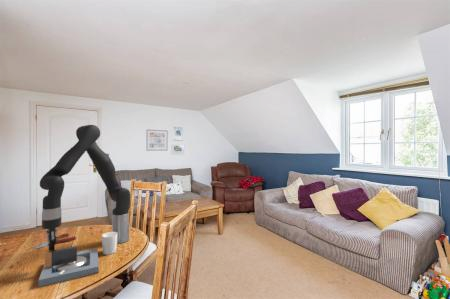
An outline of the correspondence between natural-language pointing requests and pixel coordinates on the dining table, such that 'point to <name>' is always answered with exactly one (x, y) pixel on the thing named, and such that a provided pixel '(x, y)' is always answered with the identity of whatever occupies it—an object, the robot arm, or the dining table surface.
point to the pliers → (57, 241)
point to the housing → (53, 276)
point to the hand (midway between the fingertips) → (51, 252)
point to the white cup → (109, 242)
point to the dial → (64, 259)
